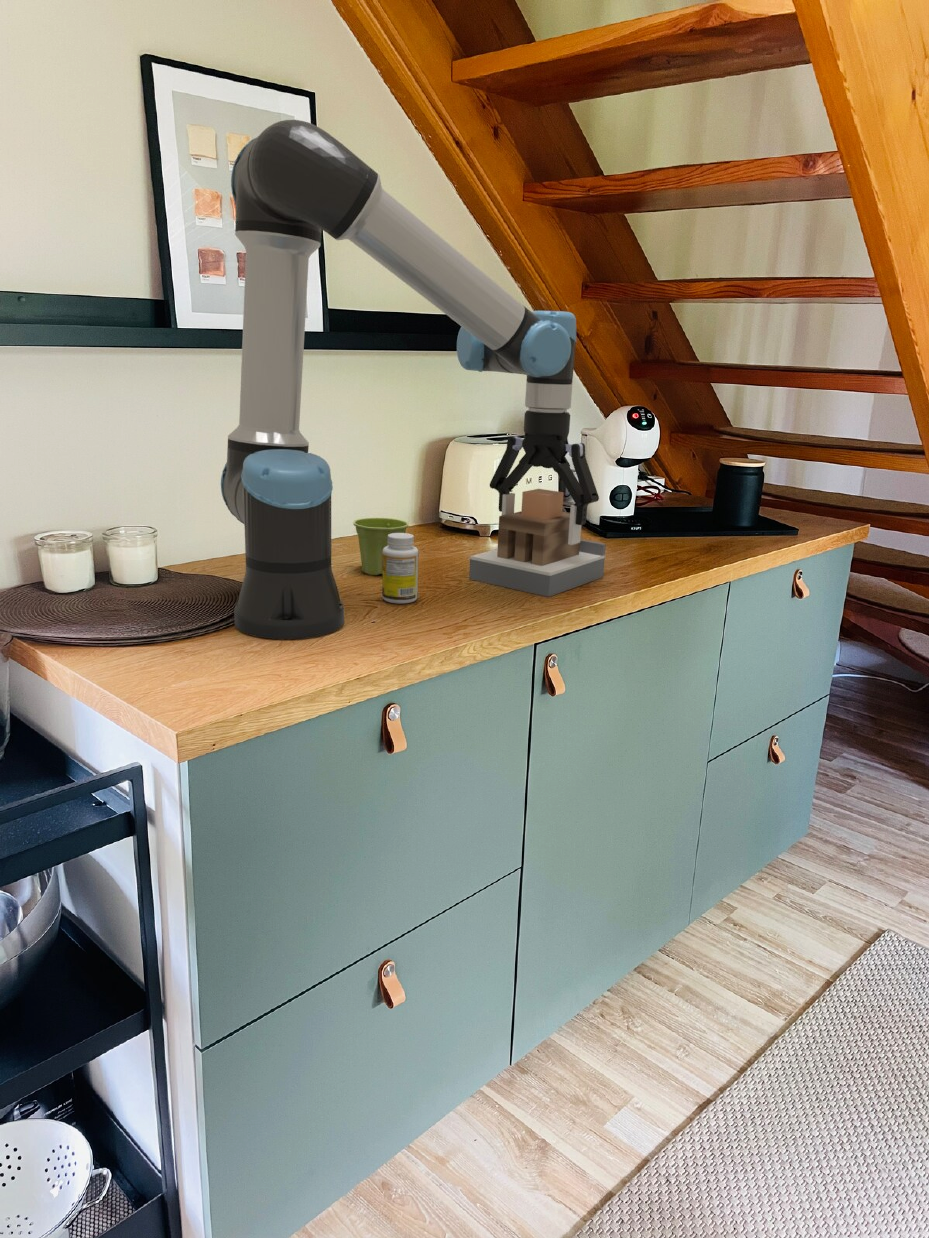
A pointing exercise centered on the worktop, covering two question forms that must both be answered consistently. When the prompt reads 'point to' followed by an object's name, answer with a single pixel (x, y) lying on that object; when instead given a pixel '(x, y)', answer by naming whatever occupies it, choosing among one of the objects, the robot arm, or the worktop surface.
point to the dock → (540, 570)
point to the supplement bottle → (400, 569)
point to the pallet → (535, 539)
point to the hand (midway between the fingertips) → (539, 537)
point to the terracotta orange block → (542, 503)
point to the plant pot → (376, 540)
